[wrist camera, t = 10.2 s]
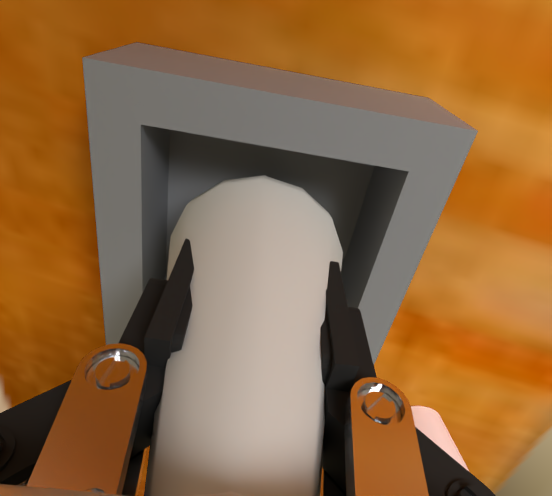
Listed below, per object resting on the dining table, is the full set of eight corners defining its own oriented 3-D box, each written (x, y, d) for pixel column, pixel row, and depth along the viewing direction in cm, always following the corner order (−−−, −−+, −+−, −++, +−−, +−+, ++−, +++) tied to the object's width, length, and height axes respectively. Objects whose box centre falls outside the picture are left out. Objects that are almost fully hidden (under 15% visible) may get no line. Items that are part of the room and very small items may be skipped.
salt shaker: (172, 261, 16) (-54, 794, 5) (203, 131, 13) (-161, 721, 2) (304, 297, 17) (336, 816, 6) (359, 182, 14) (599, 784, 3)
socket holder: (136, 42, 14) (82, 57, 10) (428, 97, 15) (477, 131, 11) (140, 282, 20) (106, 348, 16) (350, 313, 21) (365, 383, 17)
